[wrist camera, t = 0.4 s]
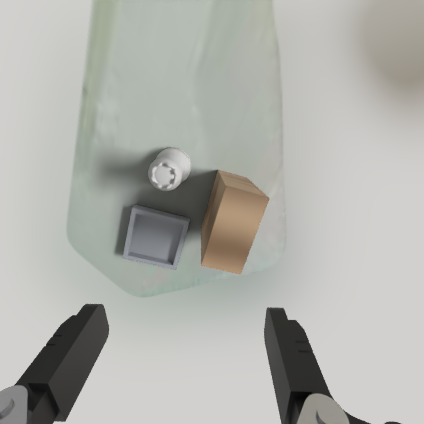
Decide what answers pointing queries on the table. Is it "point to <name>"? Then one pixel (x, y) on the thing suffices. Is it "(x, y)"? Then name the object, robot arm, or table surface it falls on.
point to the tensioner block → (231, 222)
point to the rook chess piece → (169, 169)
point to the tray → (155, 237)
